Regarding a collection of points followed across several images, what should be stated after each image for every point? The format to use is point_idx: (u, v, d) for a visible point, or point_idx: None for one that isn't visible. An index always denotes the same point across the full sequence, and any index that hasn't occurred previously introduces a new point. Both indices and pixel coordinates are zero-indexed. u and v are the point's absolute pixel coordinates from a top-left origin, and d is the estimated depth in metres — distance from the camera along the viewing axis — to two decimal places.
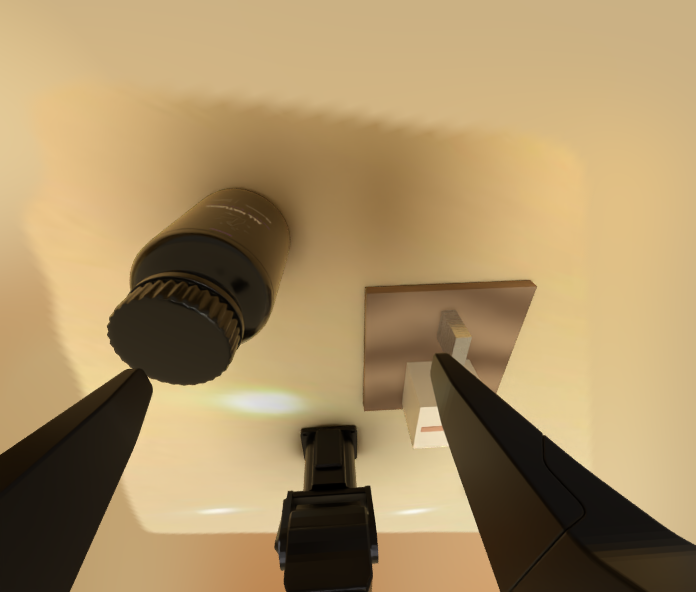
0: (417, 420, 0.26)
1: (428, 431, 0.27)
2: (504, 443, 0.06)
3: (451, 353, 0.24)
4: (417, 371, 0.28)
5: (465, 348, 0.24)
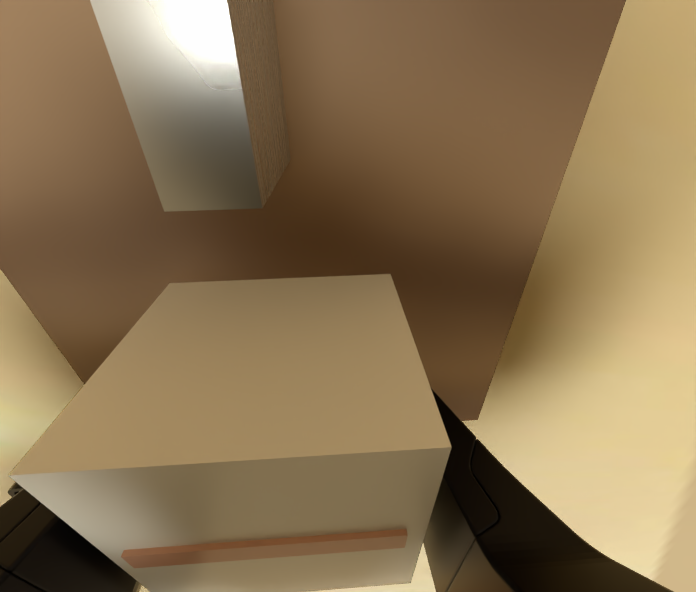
0: None
1: (168, 565, 0.06)
2: None
3: (130, 90, 0.03)
4: (179, 307, 0.07)
5: (197, 6, 0.03)
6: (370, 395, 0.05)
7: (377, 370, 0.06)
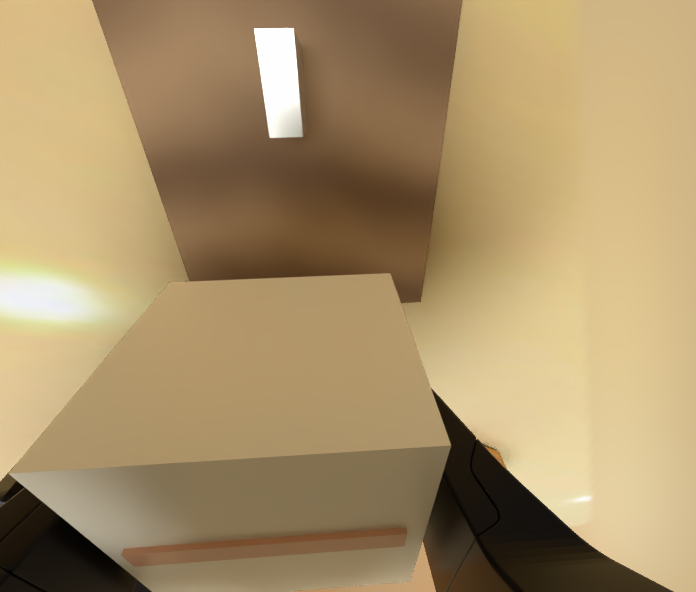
0: None
1: (167, 564, 0.06)
2: None
3: (264, 96, 0.11)
4: (179, 306, 0.07)
5: (289, 73, 0.10)
6: (370, 394, 0.05)
7: (377, 368, 0.06)
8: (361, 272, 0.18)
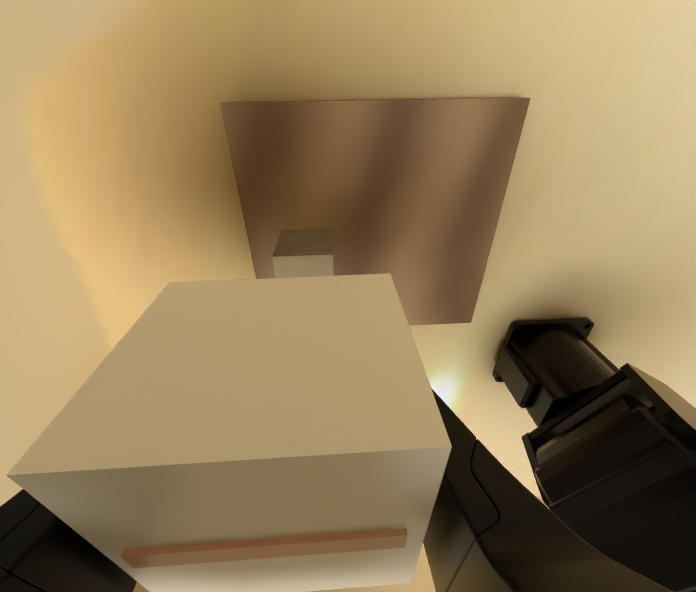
0: None
1: (167, 565, 0.06)
2: None
3: None
4: (179, 306, 0.07)
5: (295, 260, 0.15)
6: (370, 395, 0.05)
7: (377, 369, 0.06)
8: (467, 181, 0.17)
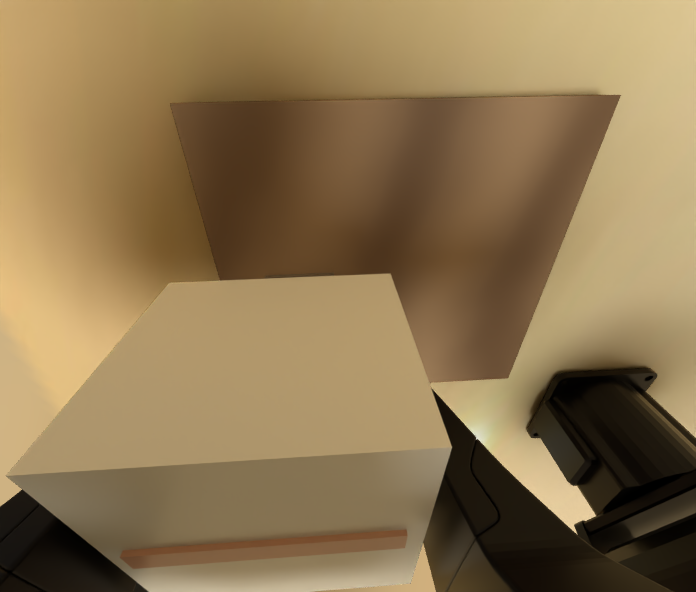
0: None
1: (167, 566, 0.06)
2: None
3: None
4: (179, 306, 0.07)
5: None
6: (370, 395, 0.05)
7: (378, 370, 0.05)
8: (519, 209, 0.12)
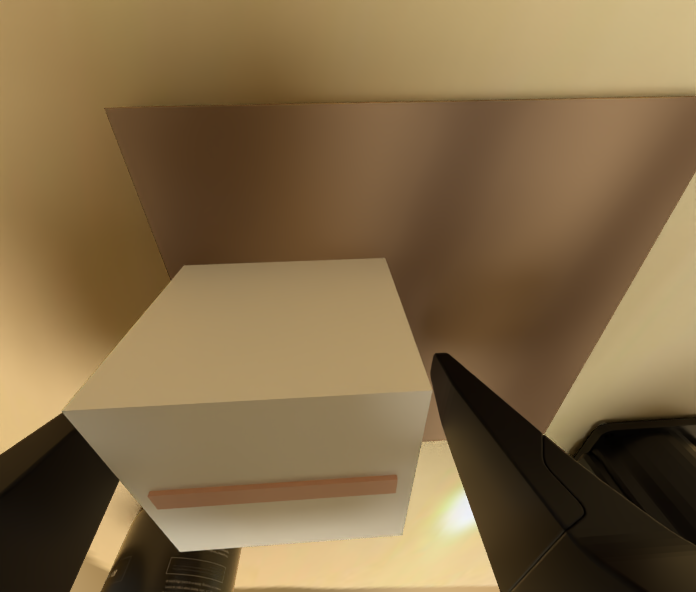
0: None
1: (187, 507, 0.07)
2: (504, 443, 0.06)
3: None
4: (194, 285, 0.08)
5: None
6: (365, 353, 0.06)
7: (371, 334, 0.06)
8: (581, 246, 0.09)
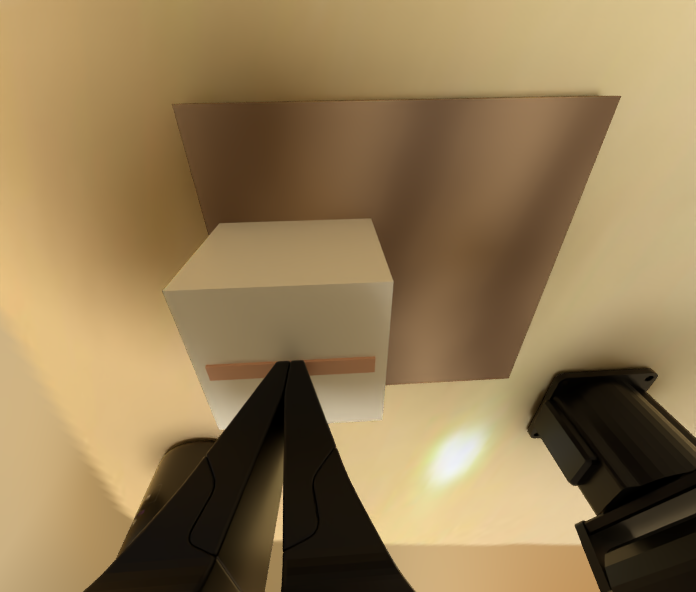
0: (187, 343, 0.09)
1: (230, 379, 0.10)
2: (287, 457, 0.06)
3: None
4: (230, 234, 0.11)
5: None
6: (352, 266, 0.09)
7: (357, 257, 0.09)
8: (520, 210, 0.12)
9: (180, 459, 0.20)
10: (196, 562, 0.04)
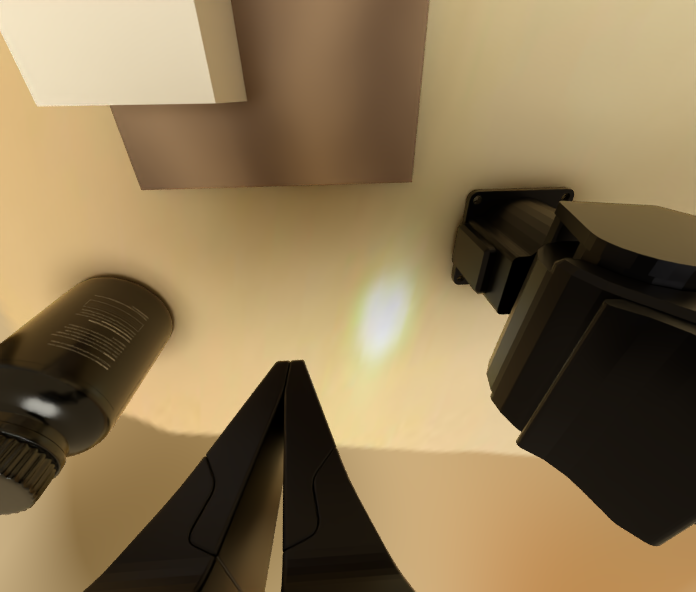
0: None
1: None
2: (287, 457, 0.06)
3: None
4: None
5: None
6: None
7: None
8: None
9: (80, 286, 0.19)
10: (196, 562, 0.04)
